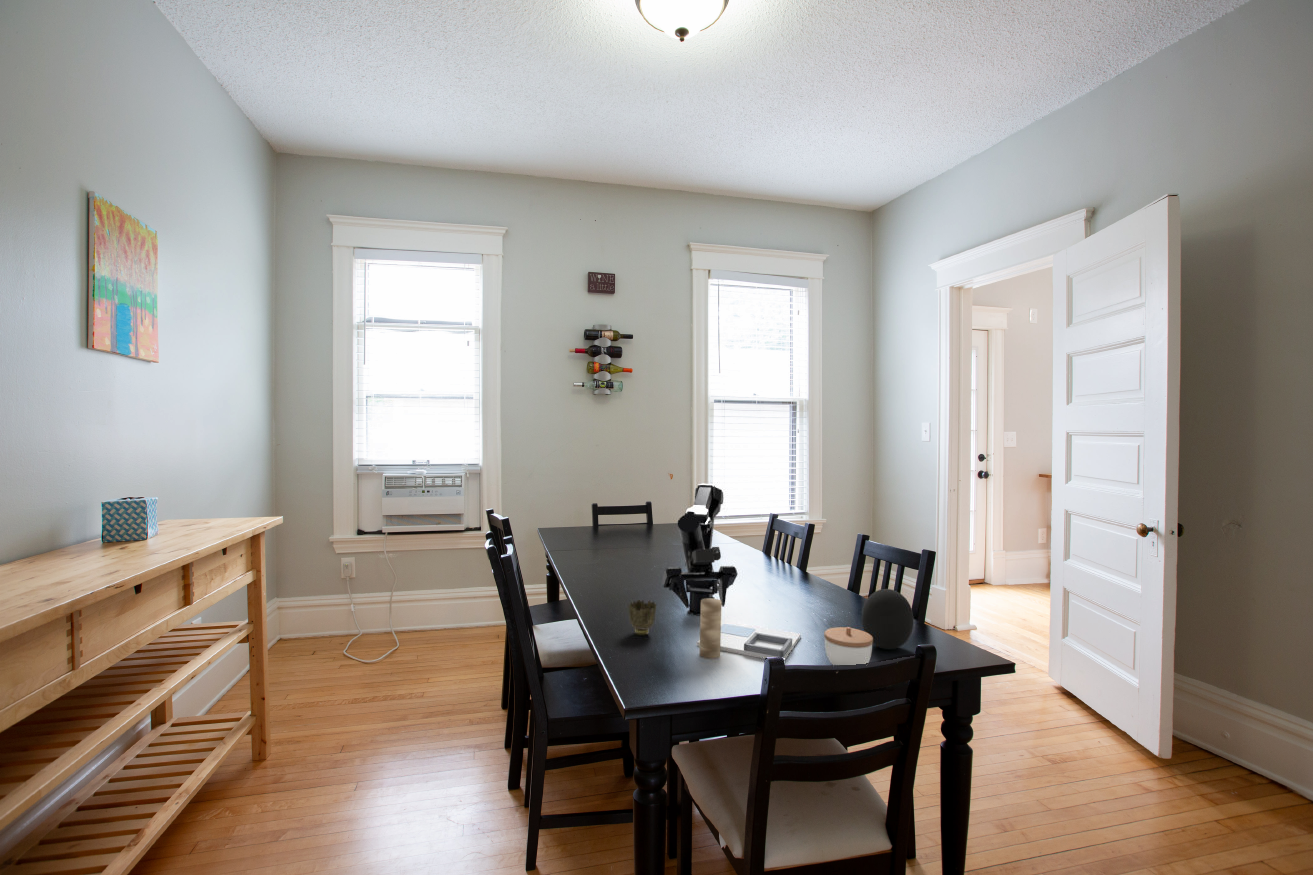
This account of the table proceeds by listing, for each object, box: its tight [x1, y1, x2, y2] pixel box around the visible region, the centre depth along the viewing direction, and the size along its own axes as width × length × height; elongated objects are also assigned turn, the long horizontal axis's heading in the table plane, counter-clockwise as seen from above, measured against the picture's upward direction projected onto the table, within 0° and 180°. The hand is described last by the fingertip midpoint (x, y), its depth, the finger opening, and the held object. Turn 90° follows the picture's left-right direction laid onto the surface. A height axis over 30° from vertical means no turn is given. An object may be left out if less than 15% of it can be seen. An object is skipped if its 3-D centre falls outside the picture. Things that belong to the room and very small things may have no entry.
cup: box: [628, 599, 657, 636], centre depth 160 cm, size 8×7×8 cm
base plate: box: [696, 620, 802, 660], centre depth 156 cm, size 22×19×2 cm
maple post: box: [699, 598, 722, 660], centre depth 146 cm, size 5×5×13 cm
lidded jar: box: [824, 626, 873, 666], centre depth 140 cm, size 11×11×9 cm
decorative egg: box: [861, 588, 915, 650], centre depth 153 cm, size 12×12×15 cm
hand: (705, 606), depth 150 cm, fingers open, 9 cm apart
